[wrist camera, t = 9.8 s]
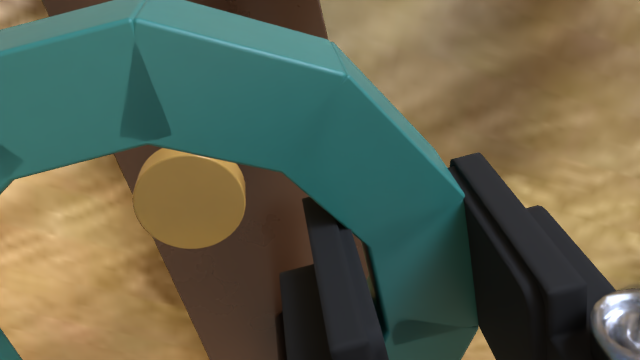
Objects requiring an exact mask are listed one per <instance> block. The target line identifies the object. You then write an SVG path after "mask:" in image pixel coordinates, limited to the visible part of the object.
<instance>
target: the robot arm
mask: <svg viewBox="0 0 640 360" xmlns="http://www.w3.org/2000/svg"><path fill="white" fill-rule="evenodd" d="M448 170H449V171H450V173H451V174H452V176H453V177H454V179H455V180H456V182H457V183H458V185H459V186H460V188H461V189H462V191H463V192H464V194H465V197H464V199H463V200H464V206H465V214H466V223H467V231H468V239H469V248H470V256H471V265H472V273H473V282H474V290H475V298H476V307H477V315H478V325H479V327H480V329H481V331H482V333H483V335H484V337H485V339H486V341H487V343H488V345H489V347H490V349H491V351H492V353H493V355H494V357H495V359H496V360H640V289H626V290H619V291H616V290H615V289H614V288H613V286H612V285H611V284H610V283H609V282H608V281H607V279H606V278H605V277H604V276H603V275H602V274H601V273H600V271H599V270H598V269H597V268H596V267H595V266H594V264H593V263H592V262H591V261H590V260H589V259H588V258H587V256H586V255H585V254H584V253H583V252H582V251H581V249H580V248H579V247H578V246H577V245H576V244H575V243H574V241H573V240H572V239H571V238H570V237H569V236H568V235H567V233H566V232H565V231H564V230H563V229H562V228H561V226H560V225H559V224H558V223H557V222H556V221H555V220H554V218H553V217H552V216H551V215H550V214H549V213H548V211H547V210H545V209H544V208H543V207H542V206H538V205H537V206H533V207H530V208H525V207H524V206H523V204H522V203H521V202H520V201H519V200H518V198H517V197H516V196H515V195H514V193H513V192H512V191H511V190H510V188H509V187H508V186H507V185H506V184H505V182H504V181H503V180H502V179H501V177H500V176H499V175H498V174H497V172H496V171H495V170H494V169H493V168H492V166H491V165H490V164H489V163H488V161H487V160H486V159H485V158H484V157H483V155H482V154H481V153H474V154H470V155H466V156H463V157H459V158H455V159H451V161H450V168H448ZM302 202H303V208H304V213H305V219H306V224H307V230H308V235H309V240H310V246H311V251H312V257H313V262H314V264H311V265H308V266H304V267H300V268H296V269H292V270H288V271H285V272H281V273H280V275H279V278H280V290H281V300H282V311H283V321H284V332H285V342H286V352H287V360H389V358H388V354H387V350H386V346H385V342H384V338H383V334H382V331H381V327H380V324H379V320H378V317H377V314H376V310H375V307H374V304H373V300H372V297H371V294H370V291H369V287H368V284H367V281H366V277H365V274H364V271H363V267H362V264H361V261H360V257H359V254H358V251H357V247H356V244H355V241H354V237H353V234H352V231H351V229H347V228H345V227H344V226H343V225H342V224H341V223H340V222H338V221H337V220H336V219H335V218H334V217H333V216H331V215H330V214H329V213H328V212H327V211H326V210H324V209H323V208H322V207H321V206H320V205H319V204H317V203H316V202H315V201H314V200H313V199H312V198H311V197H306V198H302Z"/></svg>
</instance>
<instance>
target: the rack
mask: <svg viewBox="0 0 640 360" xmlns="http://www.w3.org/2000/svg"><path fill="white" fill-rule="evenodd" d="M109 1H112V0H42V2H43V4H44V6H45V8H46V10H47V12H48V15H49V17H51V16H55V15H59V14H63V13H67V12H70V11H74V10H78V9H82V8H86V7H90V6H93V5H97V4H101V3H105V2H109ZM186 1H189V2H193V3H197V4H200V5H204V6H208V7H211V8H215V9H218V10H222V11H226V12H229V13H233V14H237V15H240V16H244V17H248V18H251V19H255V20H258V21H262V22H266V23H269V24H273V25H277V26H280V27H284V28H287V29H291V30H295V31H298V32H302V33H306V34H309V35H313V36H317V37H320V38H324V39H327V40H328V37H327V32H326V28H325V23H324V19H323V14H322V10H321V6H320V1H319V0H186ZM114 156H115V158H116V160H117V162H118V164H119V166H120V168H121V171H122V173H123V175H124V177H125V179H126V181H127V183H128V186H129V188H130V190H131V192H132V194H133V207H134V212H135V214H136V217H137V219H138V220H139V222H140V224H141V225H142V227H143V228H144V229H145V230H146V231H147V232H148V233H149V234H150V235H151V236H152V237H153V239H154V241H155V243H156V245H157V248H158V250H159V252H160V254H161V256H162V258H163V260H164V263H165V265H166V267H167V269H168V271H169V273H170V275H171V277H172V280H173V282H174V284H175V286H176V288H177V290H178V292H179V295H180V297H181V299H182V301H183V303H184V305H185V307H186V310H187V312H188V314H189V316H190V318H191V320H192V322H193V324H194V327H195V329H196V331H197V333H198V335H199V337H200V339H201V342H202V344H203V346H204V348H205V350H206V352H207V354H208V357H209V359H210V360H287V352H286V342H285V332H284V321H283V311H282V300H281V290H280V278H279V275H280V273H281V272H285V271H288V270H292V269H296V268H300V267H304V266H308V265H311V264H314V262H313V257H312V251H311V246H310V240H309V235H308V230H307V224H306V219H305V213H304V208H303V202H302V198H306V197H309V196H308V195H307V194H306V193H305V192H304V191H302V190H301V189H300V188H299V187H298V186H297V185H295V184H294V183H293V182H292V181H291V180H290V179H288V178H287V177H286V176H285V175H284V174H283V173H280V172H275V171H270V170H266V169H261V168H256V167H251V166H247V165H242V164H237V163H232V162H228V161H223V160H218V159H213V158H209V157H204V156H199V155H195V154H190V153H185V152H180V151H176V150H171V149H166V148H161V147H157V146H152V145H144V146H140V147H137V148H133V149H129V150H125V151H121V152H118V153H114ZM353 237H354V241H355V244H356V247H357V251H358V254H359V257H360V261H361V264H362V267H363V271H364V274H365V277H366V280H367V278H368V276H369V273H368V269H367V265H366V260H365V256H364V252H363V248H362V243H361V240H359V239H358V238H357V237H356V236H355V235H354V234H353Z"/></svg>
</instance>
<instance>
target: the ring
mask: <svg viewBox="0 0 640 360" xmlns="http://www.w3.org/2000/svg"><path fill="white" fill-rule="evenodd" d="M144 145H152V146H157V147H161V148H166V149H171V150H176V151H180V152H185V153H190V154H195V155H199V156H204V157H209V158H213V159H218V160H223V161H228V162H232V163H237V164H242V165H247V166H251V167H256V168H261V169H266V170H270V171H275V172H280V173H283V174H284V175H285V176H286V177H287V178H288V179H290V180H291V181H292V182H293V183H294V184H295V185H297V186H298V187H299V188H300V189H301V190H302V191H304V192H305V193H306V194H307V195H308V196H309V197H311V198H312V199H313V200H314V201H315V202H316V203H317V204H319V205H320V206H321V207H322V208H323V209H324V210H326V211H327V212H328V213H329V214H330V215H331V216H333V217H334V218H335V219H336V220H337V221H338V222H340V223H341V224H342V225H343V226H344V227H345V228H347V229H351V231H352V234H354V235H355V236H356V237H357V238H358V239H359V240H361V243H362V248H363V252H364V256H365V260H366V265H367V269H368V273H369V276H368V278H367V280H366V281H367V284H368V287H369V291H370V294H371V297H372V300H373V304H374V307H375V310H376V314H377V317H378V320H379V324H380V327H381V331H382V334H383V338H384V342H385V346H386V350H387V354H388V358H389V360H461V359H462V357H463V355H464V353H465V352H466V350H467V348H468V346H469V344H470V343H471V341H472V339H473V337H474V336H475V334H476V332H477V330H478V327H479V326H478V315H477V307H476V298H475V290H474V282H473V273H472V265H471V256H470V248H469V239H468V231H467V223H466V214H465V206H464V200H463V199H464V197H465V194H464V192H463V191H462V189H461V188H460V186H459V185H458V183H457V182H456V180H455V179H454V177H453V176H452V174H451V173H450V171H449V170H448V168H447V167H446V165H445V164H444V162H443V161H442V159H441V158H440V156H439V155H438V154H437V152H436V151H435V149H434V148H433V147H432V146H431V145H430V144H429V143H428V142H427V141H426V139H425V138H424V137H423V136H422V135H421V134H420V133H419V132H418V131H417V130H416V129H415V128H414V127H413V126H412V125H411V124H410V123H409V122H408V120H407V119H406V118H405V117H404V116H403V115H402V114H401V113H400V112H399V111H398V110H397V109H396V108H395V107H394V106H393V105H392V104H391V103H390V101H389V100H388V99H387V98H386V97H385V96H384V95H383V94H382V93H381V92H380V91H379V90H378V89H377V88H376V87H375V86H374V85H373V84H372V82H371V81H370V80H369V79H368V78H367V77H366V76H365V75H364V74H363V73H362V72H361V71H360V70H359V69H358V68H357V67H356V66H355V65H354V63H353V62H352V61H351V60H350V59H349V58H348V57H347V56H346V55H345V54H344V53H343V52H342V51H341V50H340V49H339V48H338V47H337V46H336V44H335V43H333V42H330V41H329V40H327V39H324V38H320V37H317V36H313V35H309V34H306V33H302V32H298V31H295V30H291V29H287V28H284V27H280V26H277V25H273V24H269V23H266V22H262V21H258V20H255V19H251V18H248V17H244V16H240V15H237V14H233V13H229V12H226V11H222V10H218V9H215V8H211V7H208V6H204V5H200V4H197V3H193V2H189V1H186V0H112V1H109V2H105V3H101V4H97V5H93V6H90V7H86V8H82V9H78V10H74V11H70V12H67V13H63V14H59V15H55V16H51V17H48V18H44V19H40V20H36V21H32V22H29V23H25V24H21V25H17V26H13V27H10V28H6V29H2V30H0V194H1V193H2V192H3V191H4V190H5V189H6V188H7V187H8V186H9V185H10V184H11V182H12V181H13V180H14V179H18V178H22V177H26V176H29V175H33V174H37V173H41V172H45V171H49V170H52V169H56V168H60V167H64V166H68V165H72V164H75V163H79V162H83V161H87V160H91V159H95V158H98V157H102V156H106V155H110V154H114V153H118V152H121V151H125V150H129V149H133V148H137V147H140V146H144ZM0 360H22V358H21V357H20V355H19V354H18V353H17V351H16V350H15V348H14V347H13V346H12V344H11V343H10V341H9V340H8V338H7V337H6V336H5V334H4V333H3V331H2V330H1V329H0Z"/></svg>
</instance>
